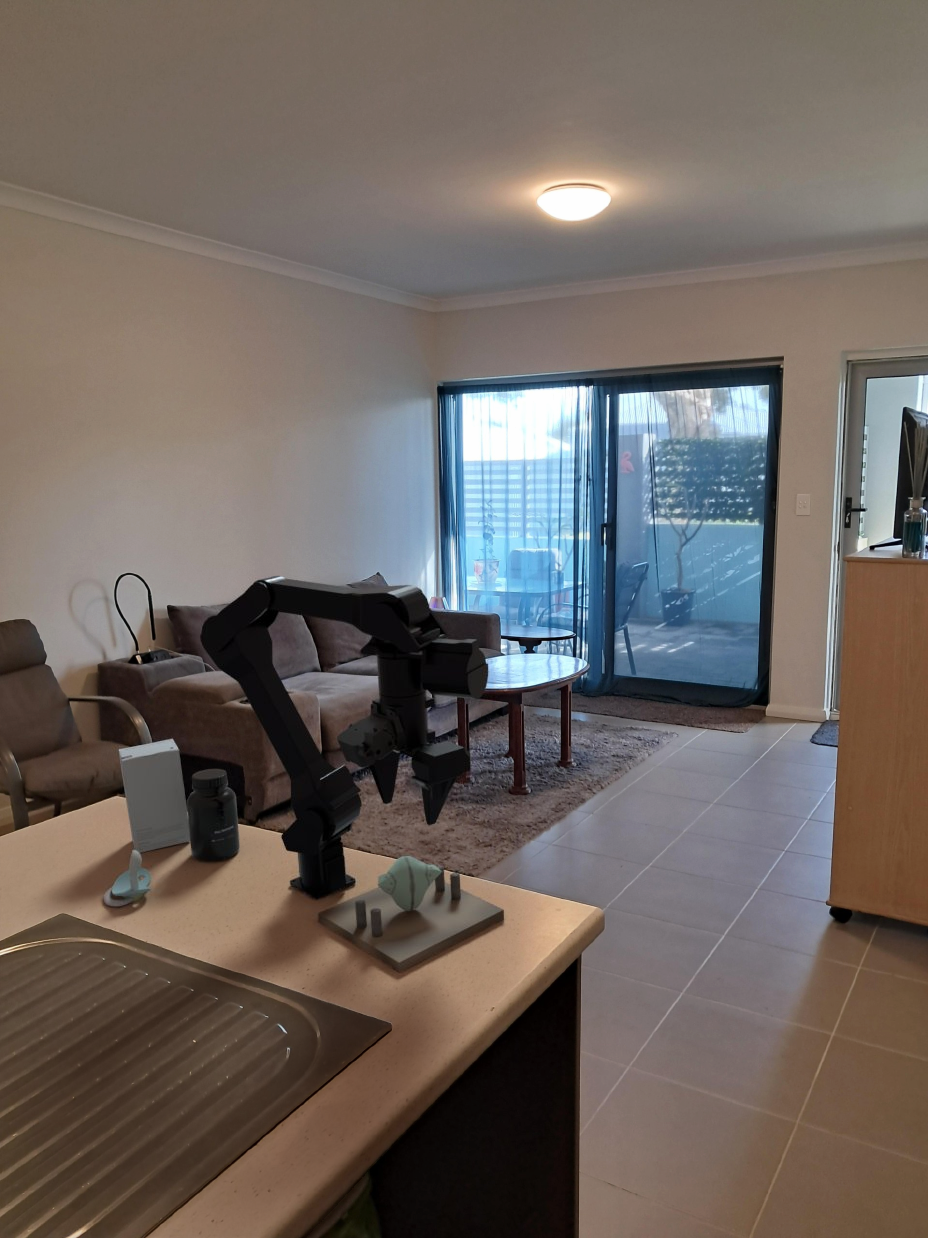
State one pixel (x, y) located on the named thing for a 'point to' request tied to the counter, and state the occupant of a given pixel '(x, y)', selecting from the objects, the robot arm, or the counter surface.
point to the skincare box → (155, 795)
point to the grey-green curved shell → (408, 881)
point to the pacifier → (129, 883)
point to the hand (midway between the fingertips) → (408, 813)
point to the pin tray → (411, 922)
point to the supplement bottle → (212, 817)
